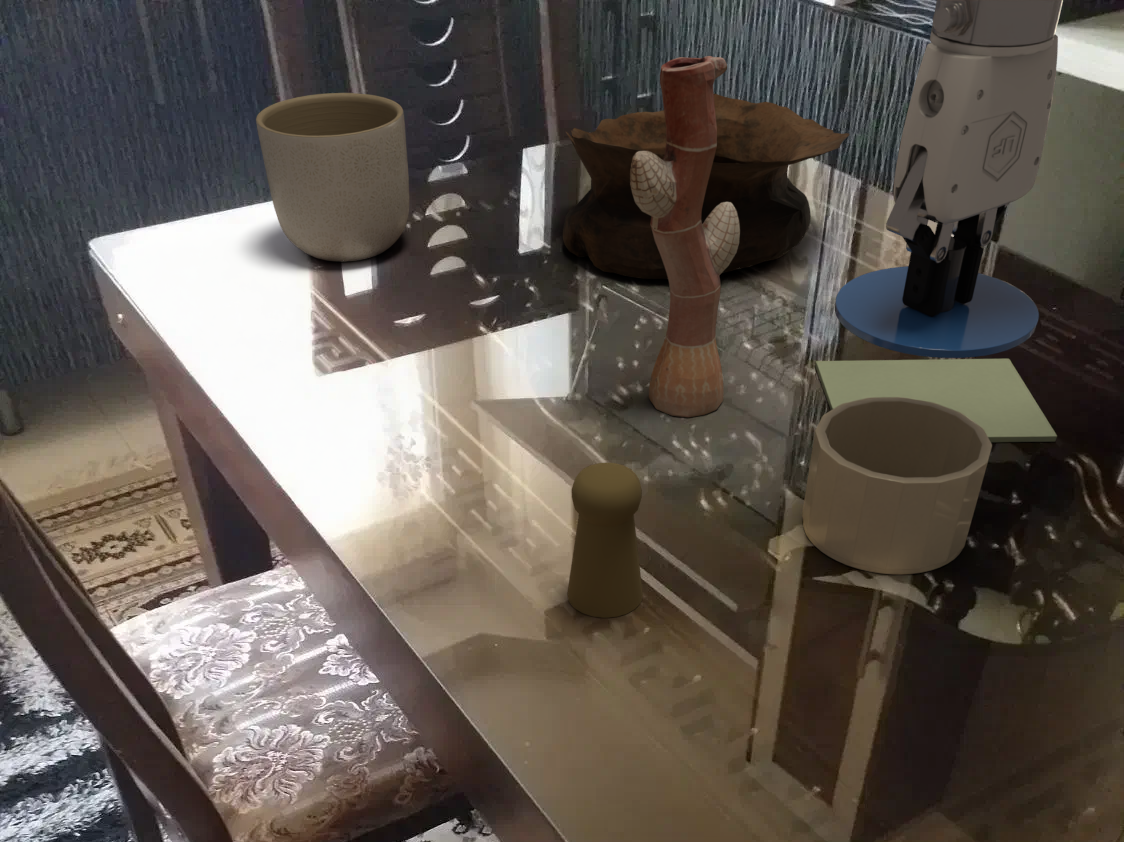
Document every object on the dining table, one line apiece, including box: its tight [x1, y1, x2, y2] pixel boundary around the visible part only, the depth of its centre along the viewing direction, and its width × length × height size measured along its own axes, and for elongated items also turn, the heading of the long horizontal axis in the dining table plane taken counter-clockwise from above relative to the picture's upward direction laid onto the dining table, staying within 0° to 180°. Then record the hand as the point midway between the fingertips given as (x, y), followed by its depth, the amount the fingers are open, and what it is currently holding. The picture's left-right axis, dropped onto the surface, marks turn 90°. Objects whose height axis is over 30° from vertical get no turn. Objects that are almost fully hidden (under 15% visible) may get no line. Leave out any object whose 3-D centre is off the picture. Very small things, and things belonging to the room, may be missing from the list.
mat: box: [814, 358, 1058, 443], centre depth 113 cm, size 20×16×1 cm
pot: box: [801, 397, 993, 575], centre depth 95 cm, size 14×14×8 cm
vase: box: [630, 55, 740, 418], centre depth 104 cm, size 10×7×30 cm
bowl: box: [562, 93, 851, 280], centre depth 139 cm, size 34×33×15 cm
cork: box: [566, 461, 644, 619], centre depth 88 cm, size 6×6×11 cm
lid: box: [834, 236, 1040, 359], centre depth 84 cm, size 15×15×6 cm
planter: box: [255, 92, 410, 263], centre depth 138 cm, size 17×17×15 cm
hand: (936, 301), depth 85 cm, fingers closed on lid, 2 cm apart
